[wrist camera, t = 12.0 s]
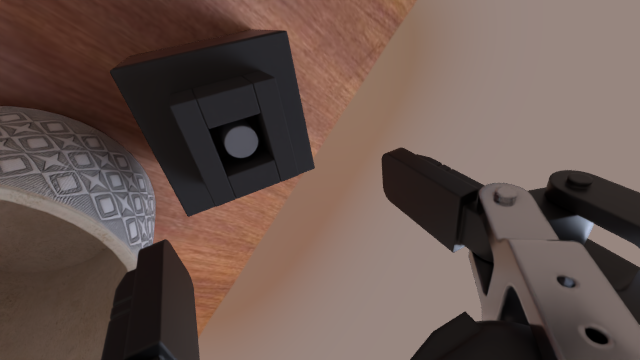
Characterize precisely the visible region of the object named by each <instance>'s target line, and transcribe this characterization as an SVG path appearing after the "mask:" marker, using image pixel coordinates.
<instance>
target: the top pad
mask: <svg viewBox="0 0 640 360" xmlns="http://www.w3.org/2000/svg"><path fill="white" fill-rule="evenodd" d="M169 107H170V110H171V112H172V114H173V116H174V118H175V120H176V123H177V125H178V127H179V129H180V131H181V133H182V136H183V138H184V140H185V142H186V144H187V147H188V149H189V151H190V153H191V155H192V157H193V160H194V162H195V164H196V166H197V168H198V170H199V173H200V175H201V177H202V179H203V181H204V183H205V186H206V188H207V190H208V192H209V194H210V196H211V199H212V201H213V203H214V205H215V206H216V207H217V206H219V205H222V204H225V203H227V202H230V201H232V200H235V199H238V198H240V197H243V196H245V195H248V194H251V193H253V192H256V191H258V190H261V189H264V188H266V187H269V186H271V185H274V184H277V183H279V182H280V181H281V182H282V181H285V180H287V179H290V178H293V177H295V176H298V175H299V173H298V169H297V165H296V161H295V157H294V153H293V149H292V144H291V140H290V136H289V132H288V128H287V124H286V120H285V116H284V111H283V107H282V103H281V99H280V95H279V91H278V87H277V83H276V79H275V77H273V76H271V75H269V74H267V73H265V72H263V71H257V72H253V73H250V74H246V75H243V76H238V77H235V78H231V79H227V80H223V81H219V82H215V83H212V84H208V85H204V86H200V87H196V88H193V90H192V89H188V90H185V91H181V92H177V93H173V94H170V97H169ZM253 115H254V118H255V121H256V125H257V128H258V131H259V134H260V138H261V141H262V144H263V145H259V146H257V148H256V150H255V151H254V152H253V153H252V154H251V155H250V156H248V157H244V158H237V157H234V156H232V155H229V156H226V157H223V158H221V159H220V157H219V154H218V152H217V149H216V147H215V145H214V142H213V140H212V137H211V135H210V132H209V130H208V129H211V128H214V127H217V126H220V125H224V124H227V123H230V122H234V121H237V120H240V119H243V118H247V117H250V116H253Z"/></svg>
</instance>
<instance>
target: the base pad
mask: <svg viewBox="0 0 640 360" xmlns="http://www.w3.org/2000/svg"><path fill="white" fill-rule="evenodd" d="M257 71H263V72H265V73H267V74H269V75H271V76H273V77H275V79H276V83H277V87H278V91H279V95H280V99H281V103H282V107H283V111H284V116H285V120H286V124H287V128H288V132H289V136H290V140H291V144H292V149H293V153H294V157H295V161H296V165H297V169H298V173H299V174H301V173H304V172H307V171H309V170H312V169H314V168H315V167H314V162H313V157H312V152H311V147H310V142H309V138H308V133H307V128H306V123H305V118H304V113H303V108H302V103H301V99H300V94H299V89H298V84H297V79H296V74H295V69H294V64H293V60H292V55H291V50H290V45H289V40H288V35H287V31H276V32H272V33H267V34H263V35H258V36H254V37H249V38H245V39H241V40H236V41H232V42H227V43H223V44H218V45H214V46H210V47H205V48H201V49H196V50H192V51H187V52H183V53H179V54H174V55H170V56H165V57H161V58H156V59H152V60H147V61H143V62H139V63H134V64H130V65H125V66H121V67H116V68H113V69H112V70H111V71H110V73H111V75H112V77H113V79H114V81H115V83H116V84H117V86H118V88H119V90H120V92H121V94H122V96H123V97H124V99H125V101H126V103H127V105H128V107H129V108H130V110H131V112H132V114H133V116H134V118H135V120H136V121H137V123H138V125H139V127H140V129H141V131H142V133H143V134H144V136H145V138H146V140H147V142H148V144H149V146H150V147H151V149H152V151H153V153H154V155H155V157H156V159H157V160H158V162H159V164H160V166H161V168H162V170H163V172H164V173H165V175H166V177H167V179H168V181H169V183H170V185H171V186H172V188H173V190H174V192H175V194H176V196H177V197H178V199H179V201H180V203H181V205H182V207H183V209H184V210H185V212H186V214H187V216H188V217H189V216H192V215H194V214H197V213H199V212H202V211H205V210H207V209H210V208H213V207H215V205H214V203H213V201H212V199H211V196H210V194H209V192H208V190H207V188H206V186H205V183H204V181H203V179H202V177H201V175H200V173H199V170H198V168H197V166H196V164H195V162H194V160H193V157H192V155H191V153H190V151H189V149H188V147H187V144H186V142H185V140H184V138H183V136H182V133H181V131H180V129H179V127H178V125H177V123H176V120H175V118H174V116H173V114H172V112H171V110H170V107H169V97H170V94H173V93H177V92H181V91H185V90H188V89H192V90H193V88H196V87H200V86H204V85H208V84H212V83H215V82H219V81H223V80H227V79H231V78H235V77H238V76H243V75H246V74H250V73H253V72H257ZM208 130H209V132H210V135H211V137H212V140H213V142H214V145H215V147H216V149H217V152H218V154H219V157H220V159H221V158H223V157H226V156H229V155H232V156H234V157H237V158H244V157H248V156H250V155H251V154H252V153H253V152H254V151H255V150H256V148H257V146H259V145H263V144H262V141H261V138H260V134H259V131H258V128H257V125H256V121H255V118H254V115H253V116H250V117H247V118H243V119H240V120H237V121H234V122H230V123H227V124H224V125H220V126H217V127H214V128H211V129H208ZM280 182H281V181H280Z"/></svg>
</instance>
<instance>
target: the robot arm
mask: <svg viewBox="0 0 640 360" xmlns="http://www.w3.org/2000/svg"><path fill="white" fill-rule="evenodd" d="M382 175H383V188H384V192H385V195H386V197H387V198H388V200H389V201H390V202H391V203H393V204H394V205H395V206H396V207H398V208H399V209H400V210H401V211H402V212H404V213H405V214H406V215H408V216H409V217H410V218H411V219H412V220H414V221H415V222H416V223H417V224H419V225H420V226H421V227H422V228H423V229H425V230H426V231H427V232H428V233H430V234H431V235H432V236H433V237H434V238H436V239H437V240H438V241H439V242H441V243H442V244H443V245H444V246H446V247H447V248H448V249H449V250H451V251H452V252H455V251H457V250H459V249H461V248H463V247H464V246H466V247H467V248H468V249H469V260H470V263H471V267H472V271H473V275H474V278H475V283H476V286H477V290H478V294H479V298H480V302H481V308H482V321H477V322H475V321H474V320H473V319H472V318H471V317H470V316H469V315H468V314H467V313H466V312H463V313H462V314H460V315H459V316H457V317H456V318H454V319H452V320H451V321H449V322H448V323H446V324H444V325H443V326H441V327H440V328H438V329H437V330H435V331H433V332H432V333H431V335H430V336H429V337H428V338H427V340H426V341H425V342H424V343H423V345H422V346H421V347H420V348H419V349H418V351H417V352H416V353H415V354H414V356H413V357H412V358H411V359H410V360H640V267H638V266H636V265H634V264H633V263H631V262H629V261H627V260H625V259H624V258H622V257H620V256H618V255H616V254H615V253H613V252H611V251H609V250H607V249H606V248H604V247H602V246H600V245H598V244H596V243H595V242H593V241H591V240H589V239H588V236H589V234H590V231H591V229H592V227H593V225H594V224H596V225H598V226H600V227H602V228H604V229H606V230H608V231H610V232H612V233H614V234H616V235H618V236H620V237H622V238H624V239H625V240H627V241H629V242H631V243H633V244H635V245H636V246H638V247H639V248H640V193H639V192H637V191H634V190H631V189H629V188H626V187H623V186H621V185H618V184H616V183H613V182H611V181H608V180H606V179H603V178H600V177H598V176H595V175H592V174H589V173H585V172H581V171H572V170H565V171H558V172H555V173H553V174H552V175H551V176H550V178H549V181H548V184H547V187H546V188H540V189H535V190H529V191H526V190H525V189H523V188H521V187H518V186H515V185H512V184H507V183H492V184H488V185H486V186H484V185H483V184H481V183H479V182H476V181H475V180H473V179H471V178H469V177H467V176H465V175H463V174H461V173H459V172H457V171H455V170H453V169H452V170H451V168H450V167H448V166H446V165H442V164H441V163H440V162H438V161H436V160H434V159H432V158H430V157H426V156H421V155H415V154H414V153H412V152H410V151H408V150H406V149H404V148H398V149H396V150H393V151H390V152H388V153H385V154H384V155H383V156H382ZM110 319H111V321H109V324H108V328H107V333H106V338H105V343H104V347H103V352H102V357H101V360H200V359H199V347H198V334H197V322H196V310H195V298H194V288H193V283H192V280H191V277H190V275H189V273H188V271H187V269H186V268H185V266H184V265H183V263H182V261H181V260H180V258H179V257H178V255H177V253H176V252H175V250H174V249H173V247H172V245H171V244H170V242H169V241H168V240H166V239H165V240H162V241H160V242H157V243H155V244H152V245H150V246H147V247H145V248H142V249H140V250H139V252H138V259H137V266H136V269H134V270H131V271H129V272H126V274H125V275H124V277H123V278H122V280H121V282H120V283H119V285H118V286H117V288H116V290H115V295H114V300H113V307H112V309H111V314H110Z"/></svg>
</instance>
